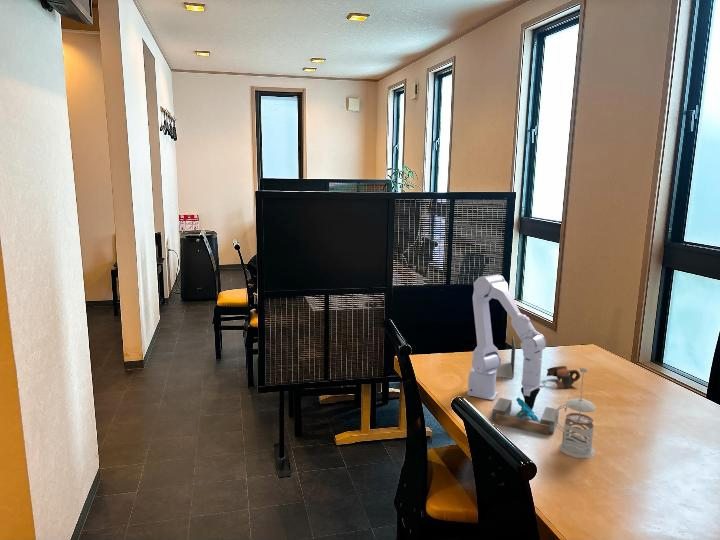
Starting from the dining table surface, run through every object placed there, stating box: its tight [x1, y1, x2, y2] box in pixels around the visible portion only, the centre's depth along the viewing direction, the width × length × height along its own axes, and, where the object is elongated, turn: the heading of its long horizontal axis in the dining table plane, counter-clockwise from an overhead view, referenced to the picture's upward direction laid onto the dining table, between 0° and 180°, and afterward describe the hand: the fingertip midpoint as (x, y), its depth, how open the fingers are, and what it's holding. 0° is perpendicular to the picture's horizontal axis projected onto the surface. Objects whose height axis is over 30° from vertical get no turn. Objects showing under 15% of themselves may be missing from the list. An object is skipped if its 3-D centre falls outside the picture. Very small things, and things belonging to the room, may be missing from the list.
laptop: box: [496, 335, 516, 380], centre depth 215 cm, size 18×12×13 cm
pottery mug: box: [546, 365, 581, 389], centre depth 201 cm, size 12×10×8 cm
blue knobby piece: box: [515, 397, 541, 422], centre depth 169 cm, size 11×6×10 cm
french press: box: [554, 366, 597, 459], centre depth 150 cm, size 10×12×25 cm
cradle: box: [491, 397, 560, 436], centre depth 169 cm, size 19×12×4 cm, turn 62°
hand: (529, 408), depth 175 cm, fingers closed
